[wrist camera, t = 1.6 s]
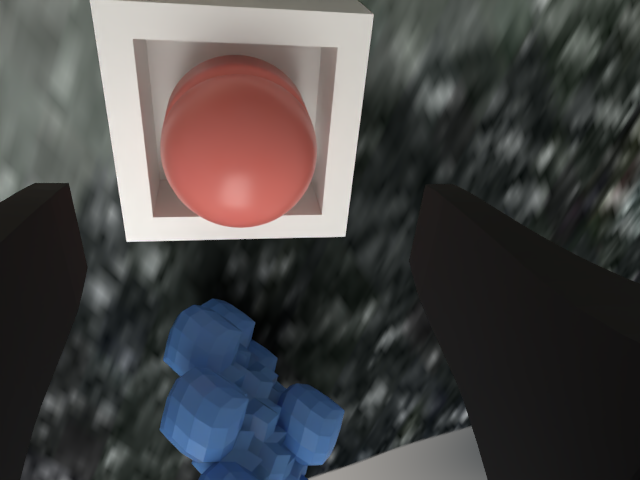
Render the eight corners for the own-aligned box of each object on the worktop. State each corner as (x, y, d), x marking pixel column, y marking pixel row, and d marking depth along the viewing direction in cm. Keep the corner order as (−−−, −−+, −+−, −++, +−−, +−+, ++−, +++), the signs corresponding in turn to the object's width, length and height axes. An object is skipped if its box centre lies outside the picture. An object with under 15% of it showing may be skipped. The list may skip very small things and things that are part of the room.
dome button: (301, 182, 20) (322, 256, 16) (172, 183, 19) (160, 260, 15) (310, 54, 17) (337, 105, 14) (160, 48, 17) (142, 101, 13)
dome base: (331, 197, 23) (345, 236, 20) (137, 199, 21) (126, 241, 19) (352, -5, 18) (373, 14, 16) (108, -19, 17) (89, -1, 14)
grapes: (352, 382, 30) (419, 629, 20) (241, 421, 30) (253, 682, 20) (280, 224, 23) (328, 480, 13) (138, 276, 23) (82, 564, 14)
